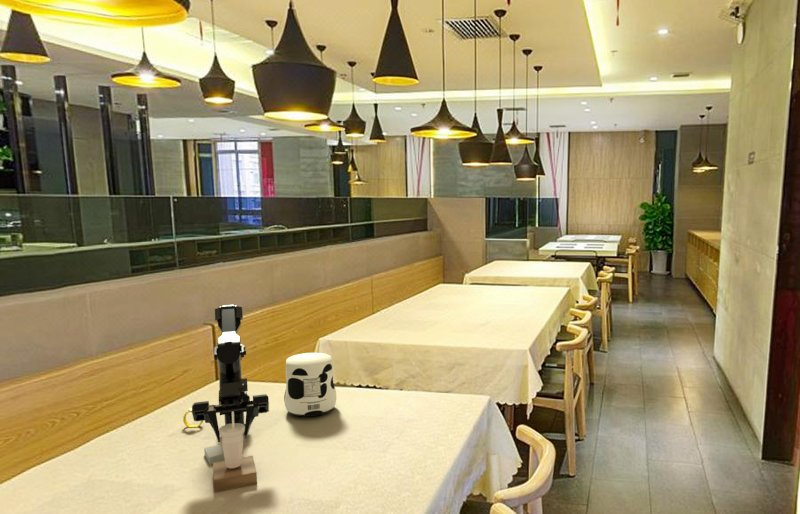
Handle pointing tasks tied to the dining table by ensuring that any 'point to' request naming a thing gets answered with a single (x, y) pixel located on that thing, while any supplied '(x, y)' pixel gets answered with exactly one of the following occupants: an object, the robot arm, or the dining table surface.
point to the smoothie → (232, 443)
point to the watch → (186, 421)
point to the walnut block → (234, 474)
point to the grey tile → (214, 453)
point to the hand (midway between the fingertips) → (232, 439)
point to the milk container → (309, 384)
